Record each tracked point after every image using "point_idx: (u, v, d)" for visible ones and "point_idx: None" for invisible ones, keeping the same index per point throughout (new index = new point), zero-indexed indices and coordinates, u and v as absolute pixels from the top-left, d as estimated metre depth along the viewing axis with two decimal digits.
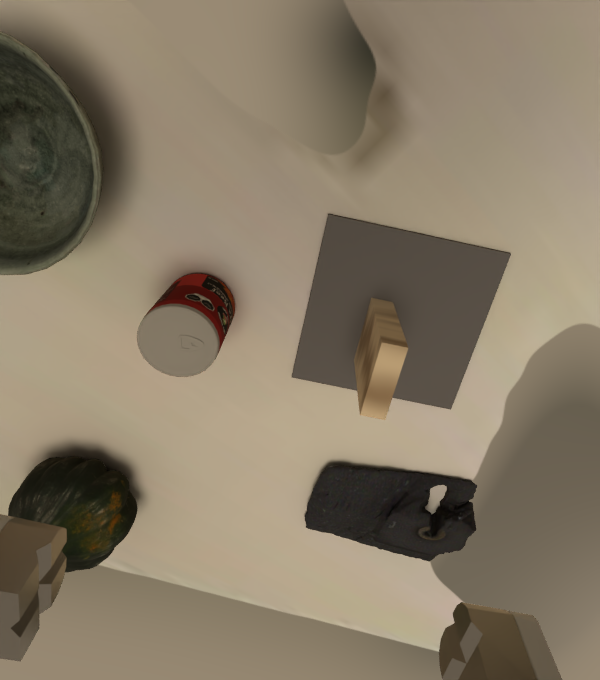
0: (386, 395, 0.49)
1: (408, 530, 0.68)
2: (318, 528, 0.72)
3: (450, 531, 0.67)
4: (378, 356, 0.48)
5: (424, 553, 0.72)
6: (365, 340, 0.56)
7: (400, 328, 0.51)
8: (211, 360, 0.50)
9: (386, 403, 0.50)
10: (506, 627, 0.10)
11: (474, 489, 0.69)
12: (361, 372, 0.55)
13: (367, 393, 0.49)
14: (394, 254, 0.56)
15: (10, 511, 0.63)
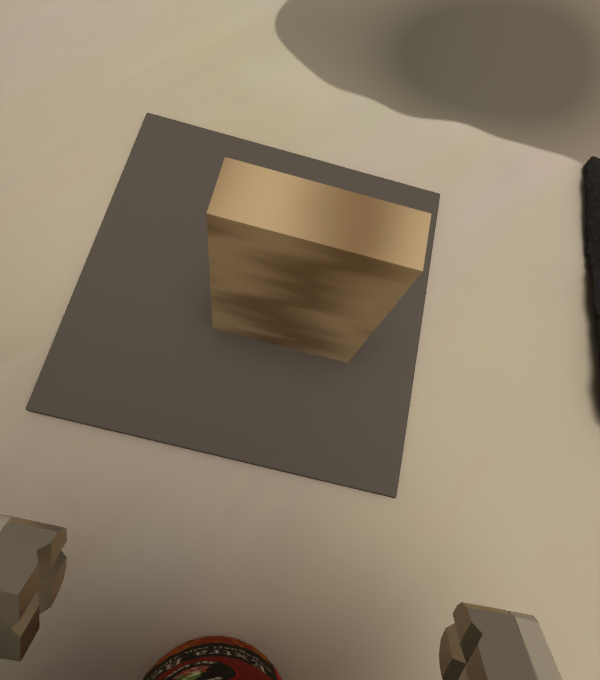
0: (361, 207, 0.19)
1: None
2: None
3: None
4: (247, 222, 0.18)
5: None
6: (281, 321, 0.26)
7: None
8: None
9: (383, 209, 0.19)
10: (506, 627, 0.10)
11: None
12: (340, 312, 0.24)
13: (357, 251, 0.19)
14: (126, 287, 0.29)
15: None
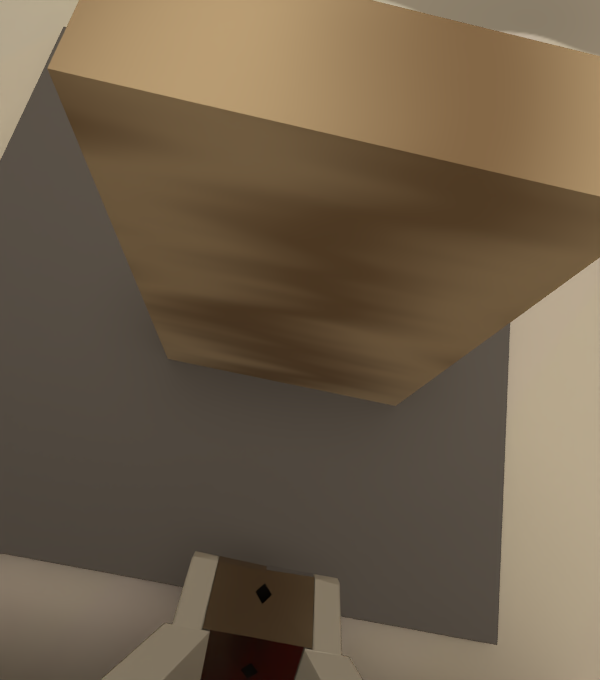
0: (476, 53, 0.07)
1: None
2: None
3: None
4: (167, 93, 0.06)
5: None
6: (282, 344, 0.14)
7: None
8: None
9: (531, 59, 0.07)
10: (301, 588, 0.10)
11: None
12: (400, 326, 0.12)
13: (479, 162, 0.07)
14: (23, 295, 0.18)
15: None
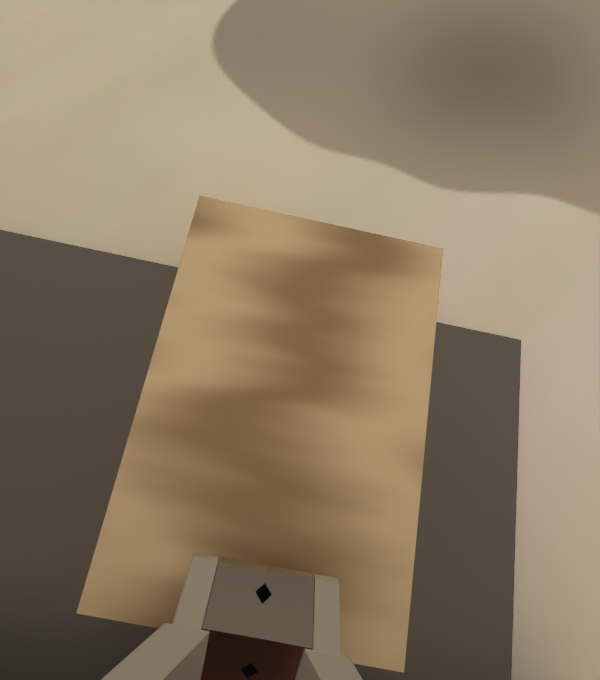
0: None
1: None
2: None
3: None
4: (244, 208, 0.17)
5: None
6: (260, 480, 0.14)
7: None
8: None
9: None
10: (301, 588, 0.10)
11: None
12: (364, 394, 0.15)
13: (367, 234, 0.17)
14: None
15: None
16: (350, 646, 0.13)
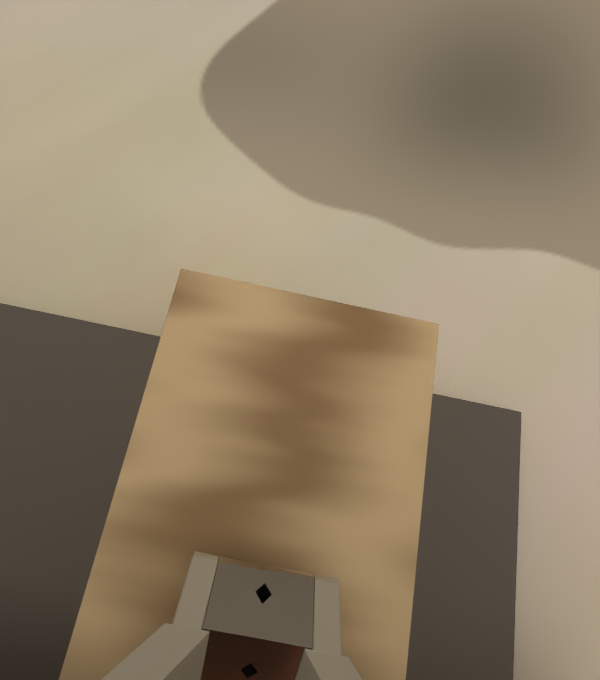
0: None
1: None
2: None
3: None
4: (228, 281, 0.16)
5: None
6: None
7: None
8: None
9: None
10: (301, 588, 0.10)
11: None
12: (353, 490, 0.14)
13: (358, 308, 0.16)
14: None
15: None
16: None
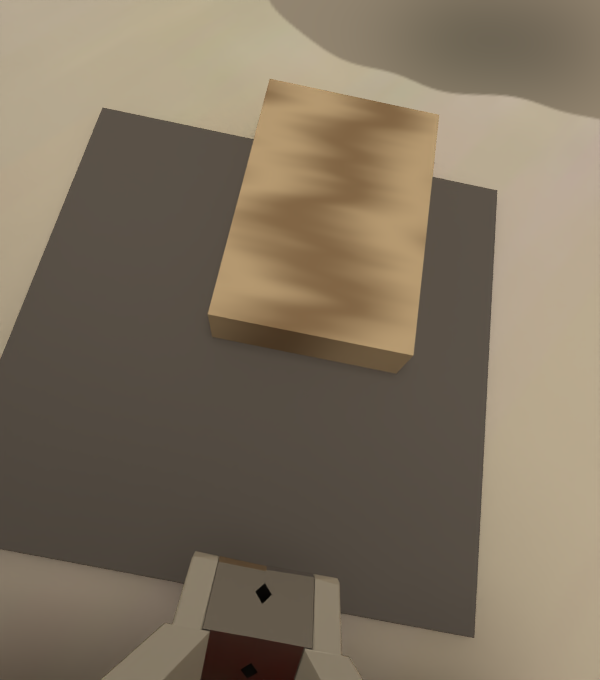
0: None
1: None
2: None
3: None
4: (300, 87, 0.24)
5: None
6: (318, 248, 0.21)
7: None
8: None
9: None
10: (301, 588, 0.10)
11: None
12: (385, 201, 0.22)
13: (385, 105, 0.24)
14: (76, 345, 0.21)
15: None
16: (379, 340, 0.20)
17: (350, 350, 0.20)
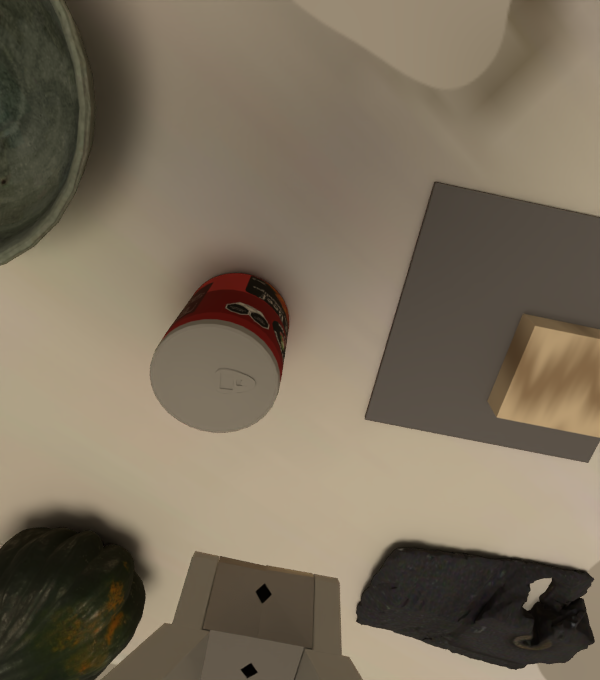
0: None
1: (500, 637, 0.51)
2: (374, 624, 0.54)
3: (560, 642, 0.49)
4: None
5: (513, 662, 0.54)
6: (564, 379, 0.39)
7: None
8: (267, 407, 0.32)
9: None
10: (301, 588, 0.10)
11: (590, 583, 0.51)
12: (587, 413, 0.40)
13: None
14: (530, 242, 0.38)
15: None
16: (506, 403, 0.40)
17: (503, 387, 0.41)
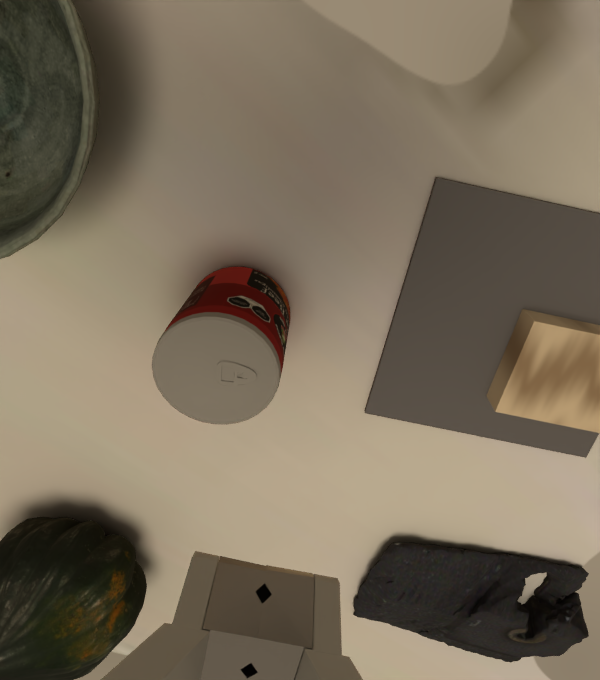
0: None
1: (495, 630, 0.51)
2: (370, 617, 0.55)
3: (554, 636, 0.50)
4: None
5: (508, 655, 0.55)
6: (563, 374, 0.39)
7: None
8: (267, 400, 0.32)
9: None
10: (301, 588, 0.10)
11: (584, 578, 0.51)
12: (585, 408, 0.41)
13: None
14: (530, 238, 0.38)
15: None
16: (505, 397, 0.41)
17: (502, 382, 0.41)
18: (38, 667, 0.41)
